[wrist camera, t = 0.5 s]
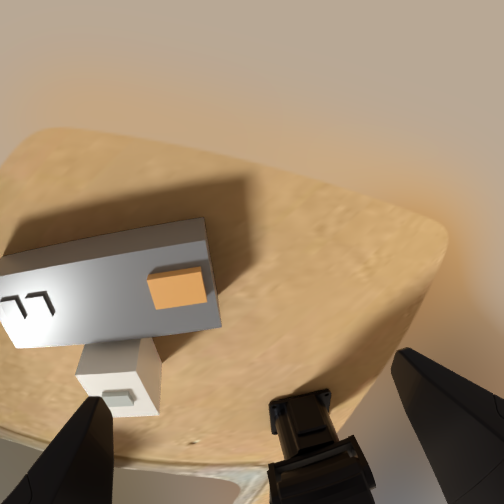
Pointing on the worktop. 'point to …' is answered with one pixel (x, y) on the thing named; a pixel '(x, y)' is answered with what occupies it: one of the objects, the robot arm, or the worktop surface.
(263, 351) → the worktop surface
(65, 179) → the worktop surface
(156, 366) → the charger
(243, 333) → the worktop surface
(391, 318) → the worktop surface
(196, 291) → the power strip
